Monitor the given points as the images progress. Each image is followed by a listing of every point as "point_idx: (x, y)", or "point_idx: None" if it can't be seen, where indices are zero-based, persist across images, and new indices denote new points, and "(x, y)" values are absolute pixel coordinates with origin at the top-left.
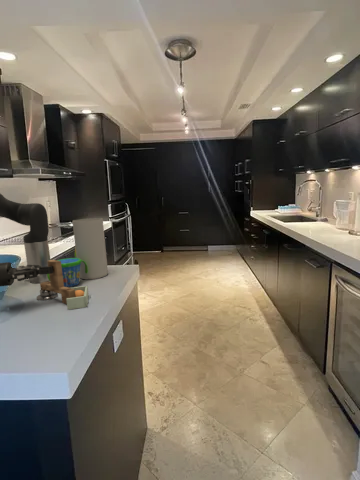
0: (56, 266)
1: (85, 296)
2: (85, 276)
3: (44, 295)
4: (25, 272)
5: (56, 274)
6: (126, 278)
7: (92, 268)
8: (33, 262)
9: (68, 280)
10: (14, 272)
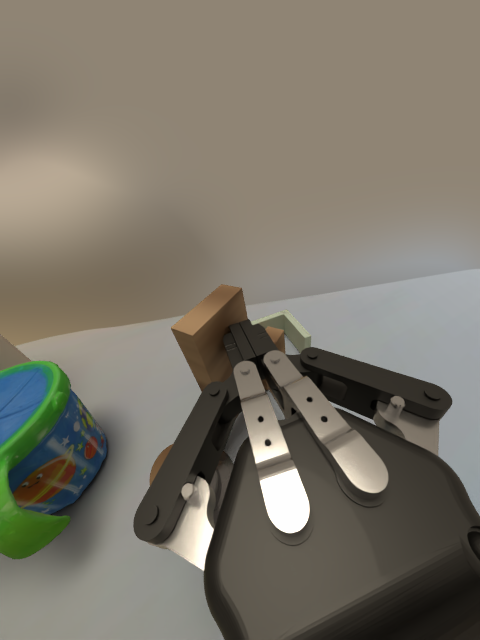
0: (244, 304)
1: (286, 310)
2: None
3: (219, 481)
4: (382, 371)
5: None
6: (111, 331)
7: None
8: None
9: (96, 435)
10: (436, 461)
